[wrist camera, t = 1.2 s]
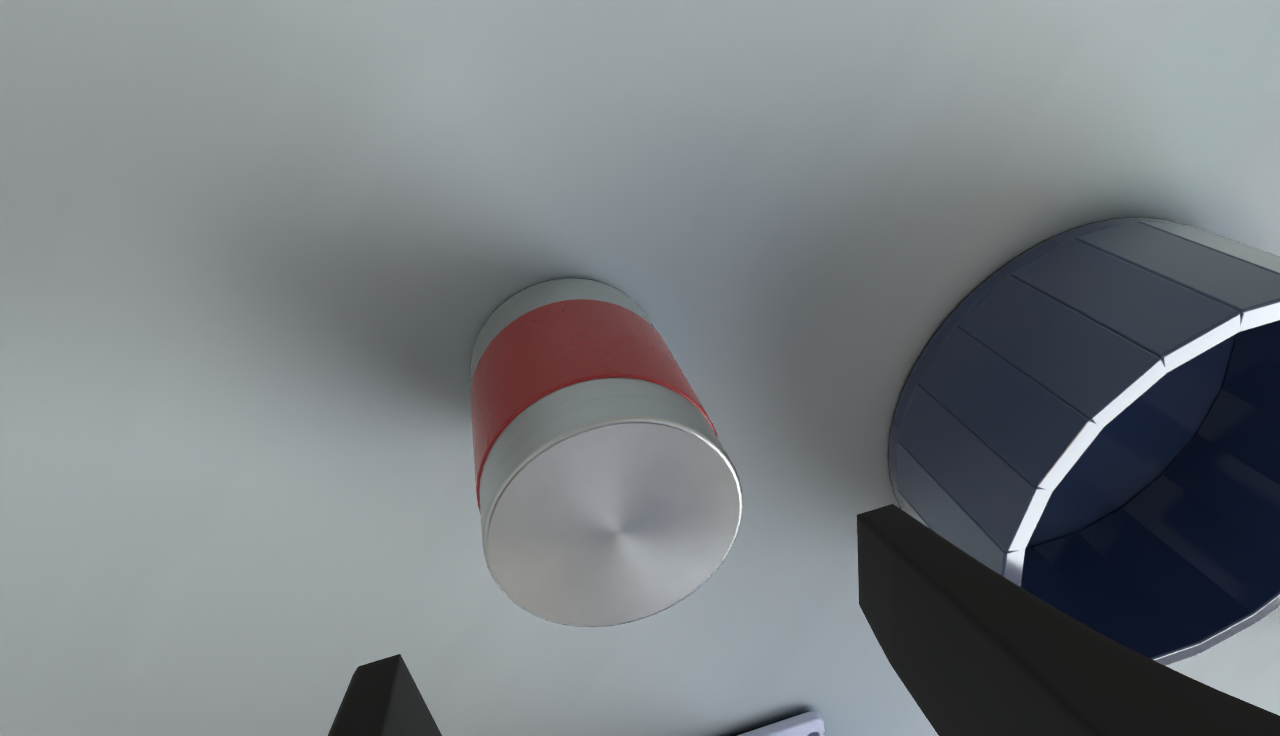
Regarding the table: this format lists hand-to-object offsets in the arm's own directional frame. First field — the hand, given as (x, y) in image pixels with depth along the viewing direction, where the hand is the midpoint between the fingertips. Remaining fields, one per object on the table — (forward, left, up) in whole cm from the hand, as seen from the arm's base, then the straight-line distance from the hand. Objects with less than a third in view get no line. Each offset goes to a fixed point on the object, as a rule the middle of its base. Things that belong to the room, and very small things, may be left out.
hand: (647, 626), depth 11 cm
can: (0, 0, -9) cm, 9 cm away
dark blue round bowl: (-6, -15, -9) cm, 18 cm away
